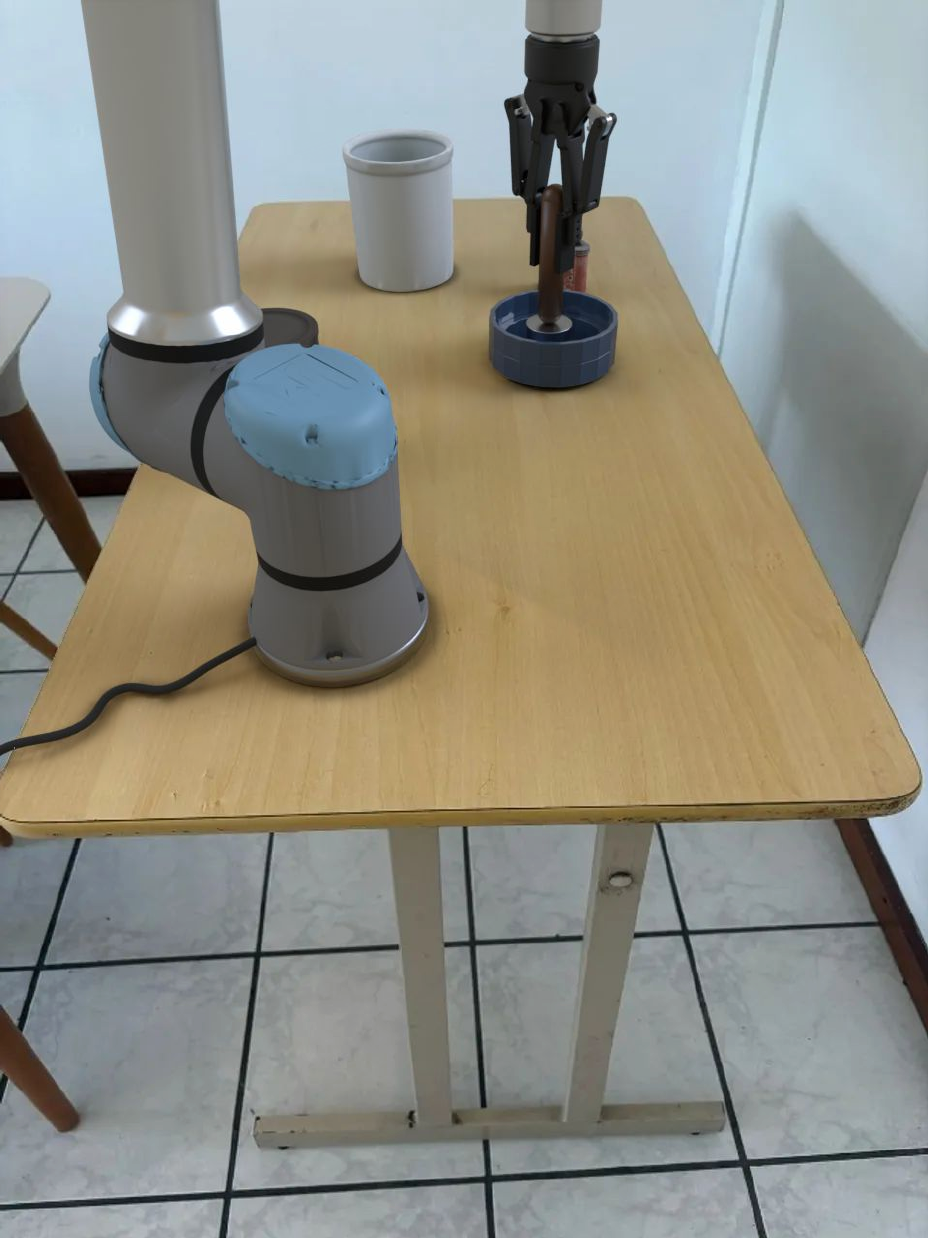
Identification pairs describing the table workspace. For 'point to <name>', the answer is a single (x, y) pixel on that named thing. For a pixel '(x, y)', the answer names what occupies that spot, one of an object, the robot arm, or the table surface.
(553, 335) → the brown stamp
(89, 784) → the table surface
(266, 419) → the robot arm
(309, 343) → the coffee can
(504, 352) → the bowl
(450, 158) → the utensil holder
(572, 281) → the lighter
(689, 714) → the table surface
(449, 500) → the table surface
